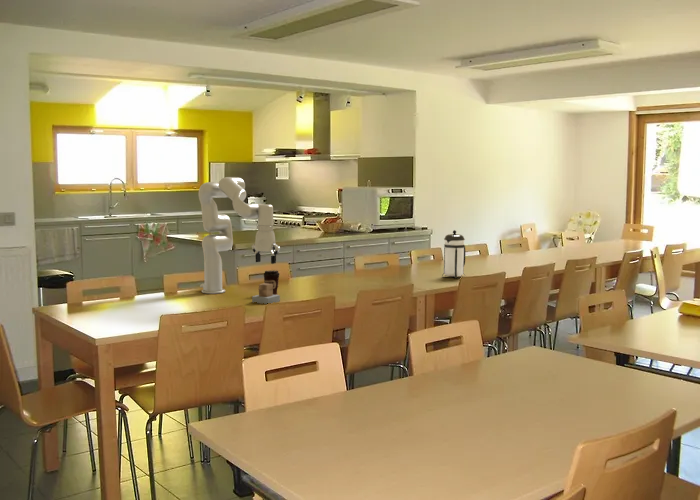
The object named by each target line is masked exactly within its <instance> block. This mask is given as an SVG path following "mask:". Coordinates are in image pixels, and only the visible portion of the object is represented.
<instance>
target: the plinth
mask: <svg viewBox="0 0 700 500" xmlns="http://www.w3.org/2000/svg"><path fill="white" fill-rule="evenodd" d="M251 300H252V301H251V303H254V302H257V303H256V304H263V303H264V304H265V305H268V304H267V303H271V304H274V303H273V302H275V303H278V302H280V301H281V295H279V294H278V295H273V296H269V297H262V296H259V294H256V295H252V297H251Z"/></svg>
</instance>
